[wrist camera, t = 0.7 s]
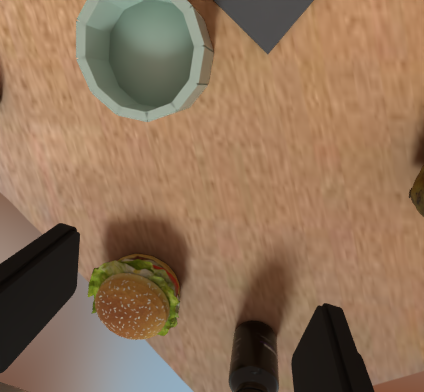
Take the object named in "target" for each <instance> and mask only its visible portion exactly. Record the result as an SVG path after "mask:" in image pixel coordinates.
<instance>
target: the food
mask: <svg viewBox="0 0 424 392" xmlns="http://www.w3.org/2000/svg"><path fill="white" fill-rule="evenodd" d="M92 295H94V302H93V312H92V313H96V312H97V314H98V317H99V318H100V320H101V321H102V323H104V324H105V325H106V327H107V328H108V329H109V330H110V331H112V332H114V333H115V334H117V335H119V336H121V337H125V338H127V339H135V340H137V339H147V338H150V337H153V336H155V335H156V334H159V335H161V336H165V335H166V334H167V333H168V330H169V329H170V328H171V327H175V326H176V325H177V319H176V317H179V316H178V310H179V305H180V285H179V282H178V280H177V277H176V275H175V273H174V272H173V271H172V270H171V268H170V267H169V266H168V265H167V264H165V263H164V262H162V261H160V260H159V259H157V258H155V257H154V256H149V255H143V254H132V255H129V256H125V257H122V258H121V259H119V260H118V261H115V260H114V261H112V262H107V263H104V264H103V265H101V266H100V267H99V268H94V270H93V273H92V276H91V279H90V282H89V291H88V297H90V296H92Z"/></svg>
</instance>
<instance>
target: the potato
mask: <svg viewBox="0 0 424 392" xmlns="http://www.w3.org/2000/svg"><path fill="white" fill-rule="evenodd" d="M410 197H411V200H412V202H413V203H414V205H415V206H416V208H417V210H418V212H419V213H420V214H421V215H422V216H423V217H424V165H423V167H422V169H421V171H420V173H419V174H418V176H417V178H416V180H415V182H414V185H413V187H412V188H411V190H410V192H409V198H410Z"/></svg>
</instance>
